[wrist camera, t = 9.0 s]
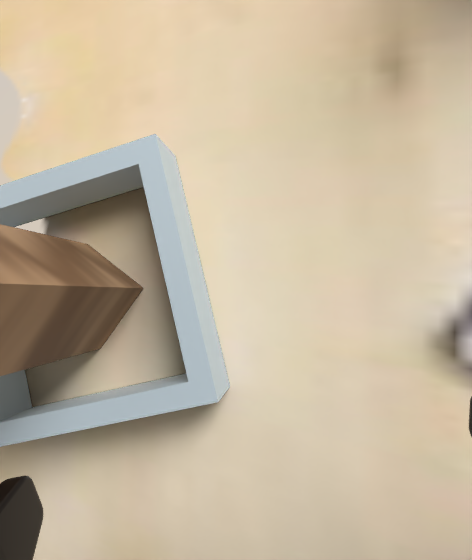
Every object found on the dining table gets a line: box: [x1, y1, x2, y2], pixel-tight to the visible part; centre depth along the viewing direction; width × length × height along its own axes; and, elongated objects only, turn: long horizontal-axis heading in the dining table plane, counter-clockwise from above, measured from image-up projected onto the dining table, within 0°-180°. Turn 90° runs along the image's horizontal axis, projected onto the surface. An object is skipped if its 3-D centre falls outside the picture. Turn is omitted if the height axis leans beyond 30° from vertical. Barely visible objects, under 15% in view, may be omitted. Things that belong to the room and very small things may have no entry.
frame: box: [0, 134, 230, 447], centre depth 21 cm, size 13×13×3 cm
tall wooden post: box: [0, 224, 143, 376], centre depth 15 cm, size 4×4×14 cm
